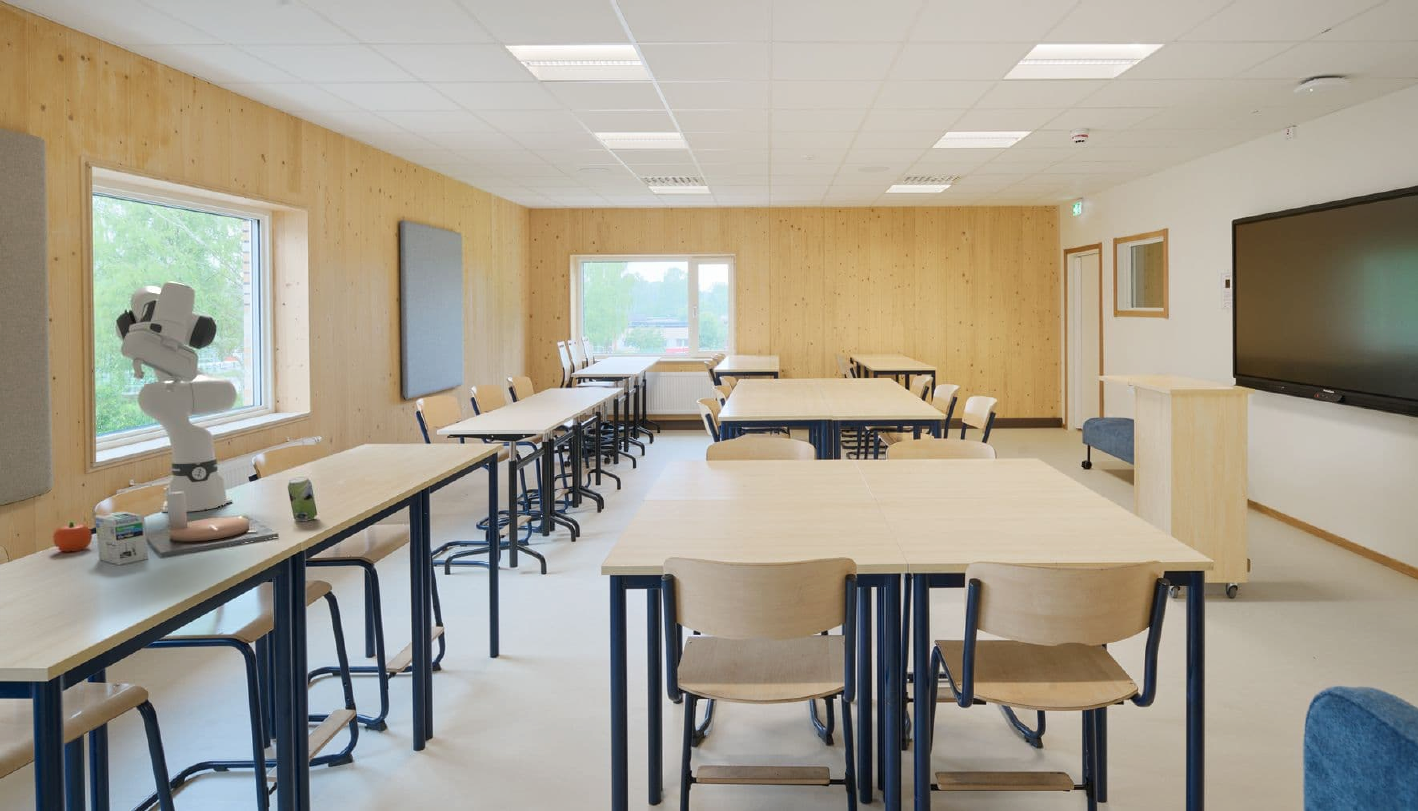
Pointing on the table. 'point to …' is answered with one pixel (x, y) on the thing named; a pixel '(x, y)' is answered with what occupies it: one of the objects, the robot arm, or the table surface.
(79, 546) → the pumpkin
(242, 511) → the table surface
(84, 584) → the table surface
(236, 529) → the crank handwheel
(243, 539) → the base
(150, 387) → the robot arm
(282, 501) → the table surface
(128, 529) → the light bulb box
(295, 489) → the beverage can
